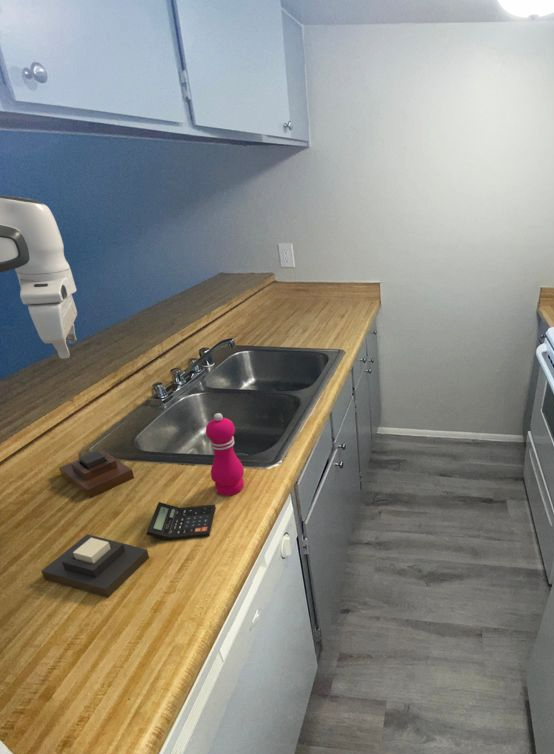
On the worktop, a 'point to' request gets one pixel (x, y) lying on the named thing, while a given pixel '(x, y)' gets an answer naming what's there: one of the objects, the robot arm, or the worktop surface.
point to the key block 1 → (97, 475)
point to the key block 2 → (96, 568)
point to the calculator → (181, 522)
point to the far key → (92, 459)
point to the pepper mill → (224, 457)
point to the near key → (91, 550)
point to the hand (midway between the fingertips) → (68, 349)
